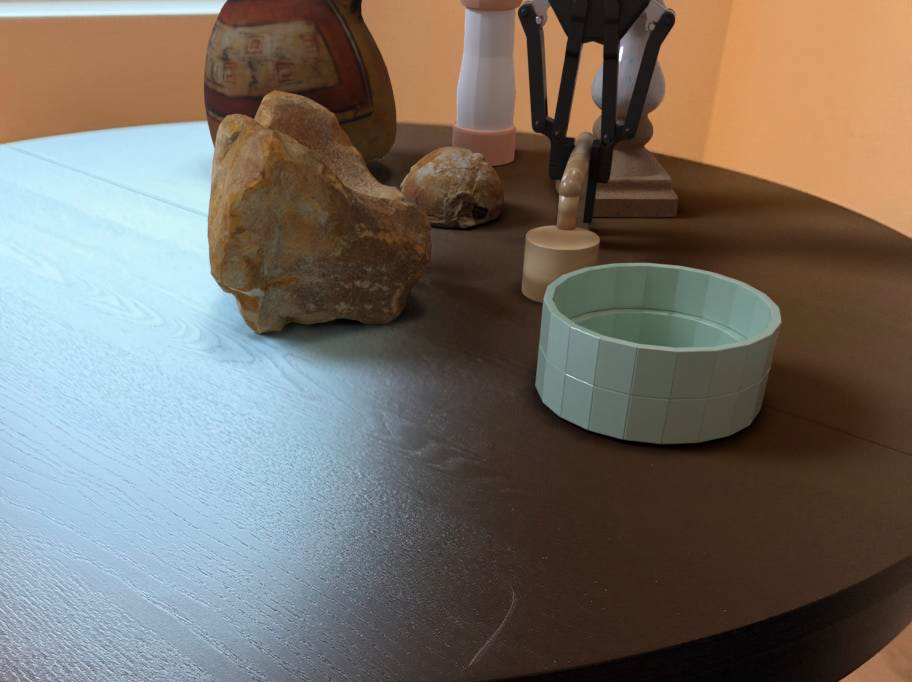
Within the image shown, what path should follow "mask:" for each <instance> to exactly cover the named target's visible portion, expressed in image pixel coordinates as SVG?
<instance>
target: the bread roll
mask: <svg viewBox="0 0 912 682" xmlns="http://www.w3.org/2000/svg"><path fill="white" fill-rule="evenodd" d="M400 191H401V192H403V193H404V194H405V195H407V196H408V197H410V198H411V199H412V200H413V202H415V203H417V204H418V206H419V207H420V208H421V209H422V210H423V211H424V212H425V214H426V215H427V216H428V219H429V222H430V225H431V226H434V227H438V228H443V229H455V228H459V229H461V230H465V229H467V228H471V227H475V226H479V225H483V224H486V223H487V222H491V221H494V220H496V219H498V217H499V216H500V215H501V212H502V210H503V207H504V202H505V192H504V187H503V184H502V181H501V178H500V177H499V175H498V173H497V171H496V169H495V168H494V167H493V166H490V165H489V164H488V163H487V162H486V159H485V157H484V156H483V155H482V154H480V153H474V152H472V151H470V150H468V149H465V148H461V147H452V145H449V146H443V147H439V148H436V149H434V150H433V151H431V152H429V153H427V154H425V156H423V157H421V158H420V159H419V160H418V161H417V162H416V163H415V164H414V165H412V166H411V167H410V171H409V173H407V174H406V176H405V177H404V178H403V180H402V182H401V183H400Z"/></svg>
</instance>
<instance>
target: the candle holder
mask: <svg viewBox="0 0 912 682" xmlns="http://www.w3.org/2000/svg"><path fill="white" fill-rule="evenodd" d="M655 1H657V2H658V3H659V4H661V5H662V6H663V7H665V8H666V9H667V5H666V3H665V1H664V0H655ZM646 20H647V15H646V13H645V12H644V11H643V13H642V14H641V15H640V17H639V18H638V19H637V20H636V22H635V23H634V24H633V25H632V27H631V28H630V29H629V30H628V32H627V33H626V34H625V36H624V37H623V38H622V39H621V40H620V53H619V76H618V99H617V123H616V124H618V123H621V122H624V121H625V119H626V115H627V111H628V108H629V104H630V100H631V97H632V93H633V89H634V86H635V82H636V78H637V75H638V71H639V67H640V64H641V60H642V56H643V52H644V49H645V45H646V42H647V39H648V36H649V34H648V33H647V32H646V30H645V23H646ZM664 75H665V74H664V72H663V69H662V67H661V64H660V62H659V59H658V58H657V61H656V64H655V68H654V72H653V75H652V79H651V82H650V86H649V89H648V93H647V96H646V100H645V104H644V107H643V111H642V114H641V118H640V121H639V125H638V129H637V132H636V135H635V137H634V138H633V139H630V140H627V139H626V140H623V141H620V142H618V143H617V144H616V145H615V146H614V152H613V160H612V168H611V175H610V179H609V180H608V182H607V184H605V183H597V188H596V196H595V205H594V213H593V218H674V217H677V211H678V204H679V197H678V196H679V195H677V193H676V191H674V189H673V187H672V183H673V180H672V177H671V176H670V174H669V173H668V171H667V170H666V169H665V168H664V166H662V164H660V162H659V161H658V159H657V158H656V156H655V155H654V154H653V153H652V152H651V151H649V150H648V149H647V148H646V145H647V144H648V143H649V142H650V141H651V140H652V138H653V135H654V124H653V123H652V121H651V120H650V118H649V114H650V113H652V112H654V111H655V110H657V109H658V108H659V106H660V105H661V104H662V103H663V101H664V99H665V96H666V92H667V91H666V88H667V87H666V79H665V76H664ZM602 83H603V62H602V63H601V64H600V65H599V67H598V69H597V71H596V72H595V74H594V76H593V78H592V81H591V85H590V95H591V99H592V101H593V103H594V105H595V106H596V107H597V108H598V109H599V110H601V111H602ZM591 132H592V134H593V136H594V138H595V139H599V140H600V139H601V114H600V115H599V116H598V117H597V118H596V120H595V121H594V123H593V125H592V131H591ZM559 185H560V180H555V190H556V192H557V193H558V195H559Z"/></svg>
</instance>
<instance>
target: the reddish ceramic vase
mask: <svg viewBox="0 0 912 682" xmlns="http://www.w3.org/2000/svg"><path fill="white" fill-rule="evenodd" d="M362 3H363V0H226V1H225V2H224V4H223V6H222V7H221V8H220V10H219V13H218V16H217V17H216V20H215V21H214V23H213V26H212V30H211V31H210V35H209V39H208V42H207V46H206V53H205V62H204V69H203V98H204V99H203V100H204V109H205V114H206V121H207V126H208V130H209V135H210V138H211V141H212V145H213V149H215V142H216V136H217V131H218V128H219V125H220V123H221V122H222V121H223V120H224V118H225V117H226V116H228V115H232V114H241V115H246V116H248V117H250V118H252V119H254V118H255V116H256V114H257V111H258V109H259V107H260V104H261V102H262V100H263V98H264V96H266V95H267V94H269V93H271V92H273V91H274V90H275V91H281V92H287V93H292V94H296V95H301V96H304V97H306V98H309V99H311V100H313V101H315V102H316V103H318V104H320V105H322V106H323V107H325V108H327V109H328V110H329V111H330V112H332V113H335V115H336V118H337V120H338V123H339V126H340V127H341V128H342V129H343V131H344V132H345V133H346V134H347V135H348V136H349V138H350V140H351V142H352V144H353V146H354V147H355V148H356V149H357V150H358V151H359V152H360V153H361V155H362V157H363V159H364V161H365V164H366V165H368V164H369V163H372V162H373V161H376V160H379V159H383V158H384V157H385V156H386V155H387V154H389V153H390V151H391V150H392V149H393V146H394V144H395V142H396V138H397V130H398V126H397V125H398V124H397V122H398V121H397V107H396V100H395V96H394V95H395V93H394V90H393V85H392V81H391V77H390V74H389V70H388V66H387V64H386V62H385V60H384V56H383V55H382V52H381V51H380V48H379V46H378V44H377V42H376V40H375V37H374V35H373V34H372V33H371V31H370V29H369V27H368V26H367V23H366V22H365V20H364V17H363V14H362V13H363V11H362Z"/></svg>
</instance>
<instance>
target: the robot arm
mask: <svg viewBox="0 0 912 682" xmlns="http://www.w3.org/2000/svg"><path fill="white" fill-rule="evenodd" d="M550 7H551V9H552V11H553V14H554V15H555V17H556V19H557V20H558V22H559V25H560V27H561V28H562V30H563V32H564V35H565V36H566V37H567V40H566V46H565V52H564V58H563V59H564V60H563V66H562V70H561V76H560V82H559V88H558V93H557V94H558V95H557V101H556V106H555V110H554V111H555V112H554V117H551V116H549V106H548V105H549V103H548V85H547V65H546V44H545V32H544V26H545V25H546V23H547V22H548V19H549V15H548V14H549V13H548V10H549V8H550ZM643 11H644V12H645V13H646V15H647V20H646V23H645V30H646V32H647V33H648V34H649V36H648V39H647V42H646V45H645V49H644V52H643V56H642V60H641V64H640V67H639V71H638V75H637V78H636V82H635V86H634V89H633V93H632V97H631V100H630V104H629V108H628V111H627V115H626V119H625V121H624V122H621V123H618V124H616V123H617V99H618V76H619V53H620V40H621V39H622V38H623V37H624V36H625V34H626V33H627V32H628V30H629V29H630V28H631V27H632V25H633V24H634V23H635V22H636V20H637V19H638V18H639V17H640V15H641V14H642V13H643ZM676 15H677V14H676V11H675V10H674V9H673V8H671V7H670V8H667V7H666V8H665V7H663V6H662V5H661V4H659V3H658V2H657V1H655V0H525V1H524V2H522V3H521V5H520V6H519V7H518V9H517V18H518V21H519V23H520V25H521V27H522V30H523V33H524V36H525V40H526V54H527V55H526V56H527V68H528V69H527V71H528V72H527V73H528V86H529V87H528V88H529V103H530V104H529V105H530V119H531V130H532V131H533V132H534V133H535V134H541V135H543V136H545V137H547V138H548V140H549V142H550V150H549V162H548V177H549V180H554V181H556V180H560V182H561V180H562V177H563V174H564V171H565V169H566V166H567V163H568V160H569V158H570V155H571V152H572V150H573V147H574V144H575V141H576V139H575V137H570V136H567V135H568V134H567V133H568V130H569V125H570V119H571V113H572V107H573V103H574V102H573V101H574V96H575V91H576V86H577V81H578V80H577V79H578V75H579V68H580V64H581V58H582V53H583V48H584V44H588V43H592V42H593V43H597V44H599V45H602V46H603V47H602V63H603V83H602V110H601V114H600V115H601V139H600V140H599V139H594V140H593V143H592V146H591V159H590V164H589V173H588V182H587V191H586V200H585V209H584V218H583V223H589V224H590V225H591V224H592V222H593V218H594V217H593V213H594V205H595V196H596V188H597V183H605V184H607V182H608V180H609V179H610V175H611V168H612V160H613V152H614V146H615V145H616V144H617V143H618V142H620V141H623V140H626V139H627V140H630V139H633V138H634V137H635V135H636V132H637V129H638V125H639V121H640V118H641V114H642V111H643V107H644V104H645V100H646V96H647V93H648V89H649V86H650V82H651V79H652V75H653V72H654V68H655V64H656V61H657V59H658V57H659V53H660V49H661V47H662V45H663V43H664V42H665V40H666V39H667V37H668V35H669V33H670V32H671V30H672V29H673V28H674V26H675V23H676ZM558 203H559V195H558V197H557V204H558ZM557 214H558V206H557V207H556V215H557ZM555 217H556V218H555V222H557V216H555Z"/></svg>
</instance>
